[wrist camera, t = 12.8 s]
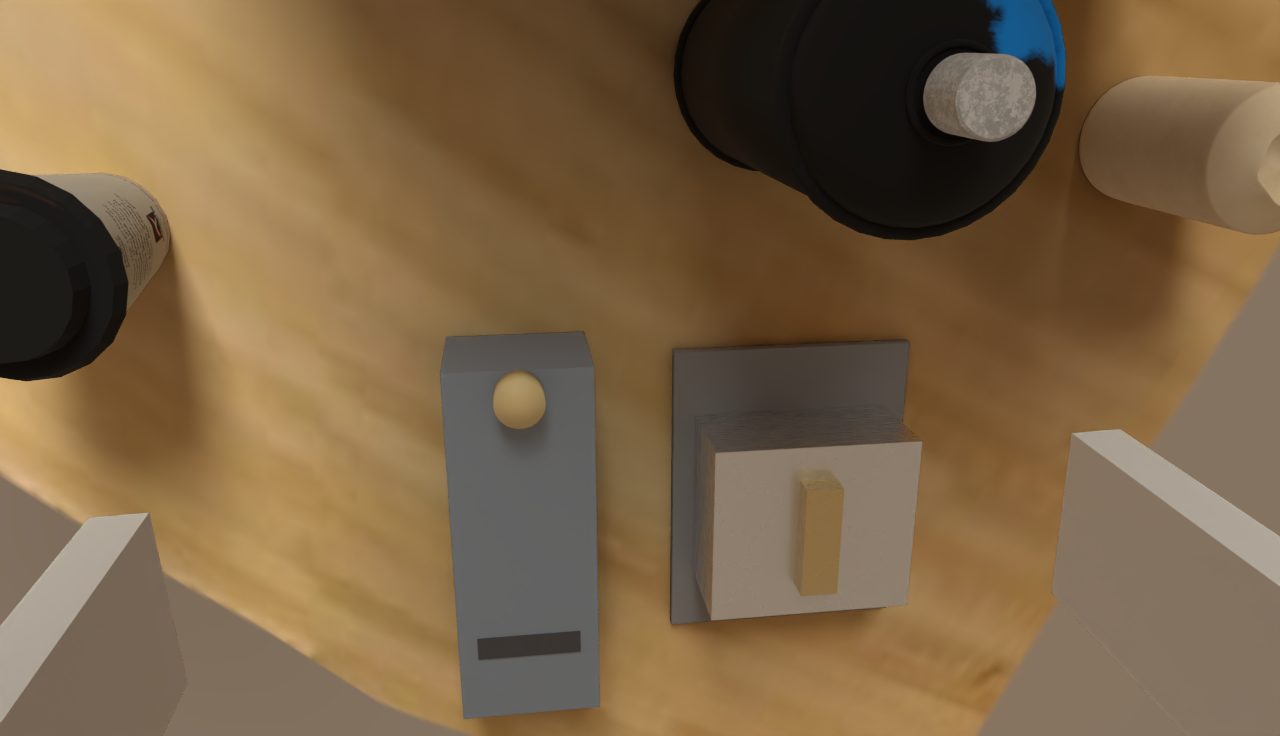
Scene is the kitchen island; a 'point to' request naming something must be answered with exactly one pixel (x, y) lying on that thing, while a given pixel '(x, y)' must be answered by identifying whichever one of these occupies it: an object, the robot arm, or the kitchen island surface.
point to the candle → (1189, 149)
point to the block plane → (523, 520)
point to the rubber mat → (762, 386)
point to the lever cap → (803, 510)
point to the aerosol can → (877, 102)
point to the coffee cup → (71, 266)
